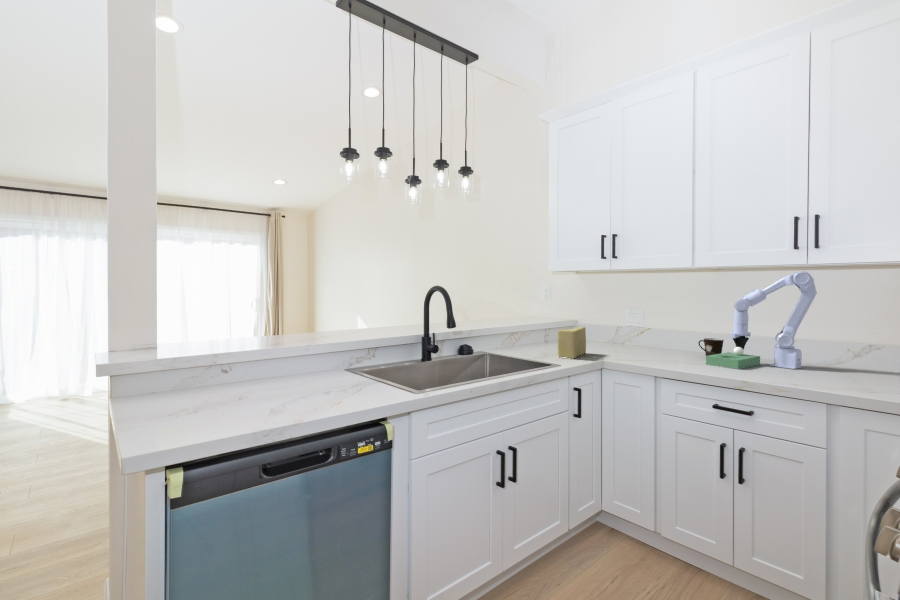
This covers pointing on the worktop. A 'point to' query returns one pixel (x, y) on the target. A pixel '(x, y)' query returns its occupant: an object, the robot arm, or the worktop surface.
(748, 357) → the practice green
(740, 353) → the ball
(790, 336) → the robot arm
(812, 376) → the worktop surface
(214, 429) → the worktop surface
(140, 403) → the worktop surface
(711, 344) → the coffee mug
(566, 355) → the cheese
